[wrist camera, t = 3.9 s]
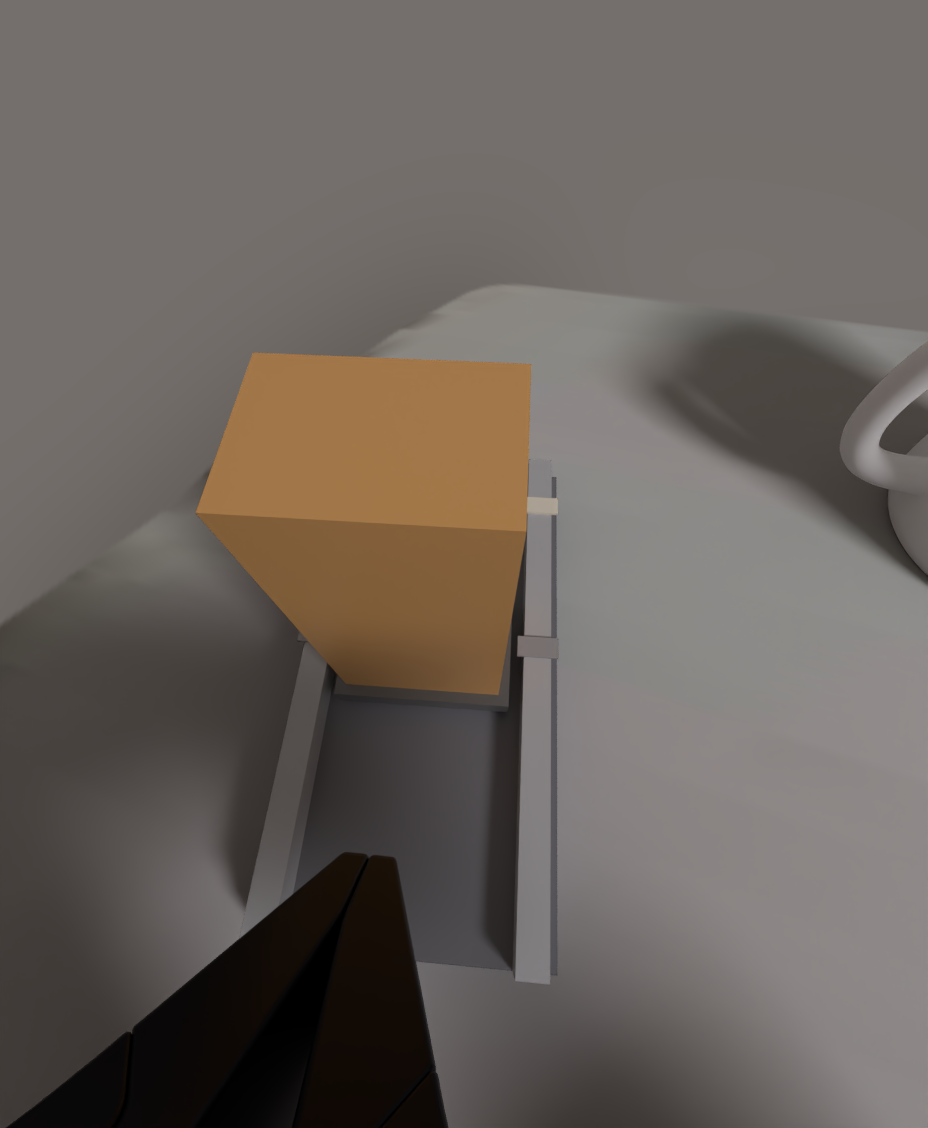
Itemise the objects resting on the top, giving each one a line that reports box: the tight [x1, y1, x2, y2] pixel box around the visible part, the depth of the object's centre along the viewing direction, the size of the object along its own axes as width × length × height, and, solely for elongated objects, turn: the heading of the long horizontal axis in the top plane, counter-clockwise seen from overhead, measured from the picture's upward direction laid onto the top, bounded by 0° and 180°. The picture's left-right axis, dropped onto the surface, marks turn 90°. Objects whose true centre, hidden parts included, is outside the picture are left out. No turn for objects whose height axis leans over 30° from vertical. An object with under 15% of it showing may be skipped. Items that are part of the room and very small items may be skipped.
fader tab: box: [196, 353, 531, 712], centre depth 12 cm, size 4×5×10 cm
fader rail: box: [239, 459, 558, 985], centre depth 17 cm, size 15×8×3 cm, turn 176°
